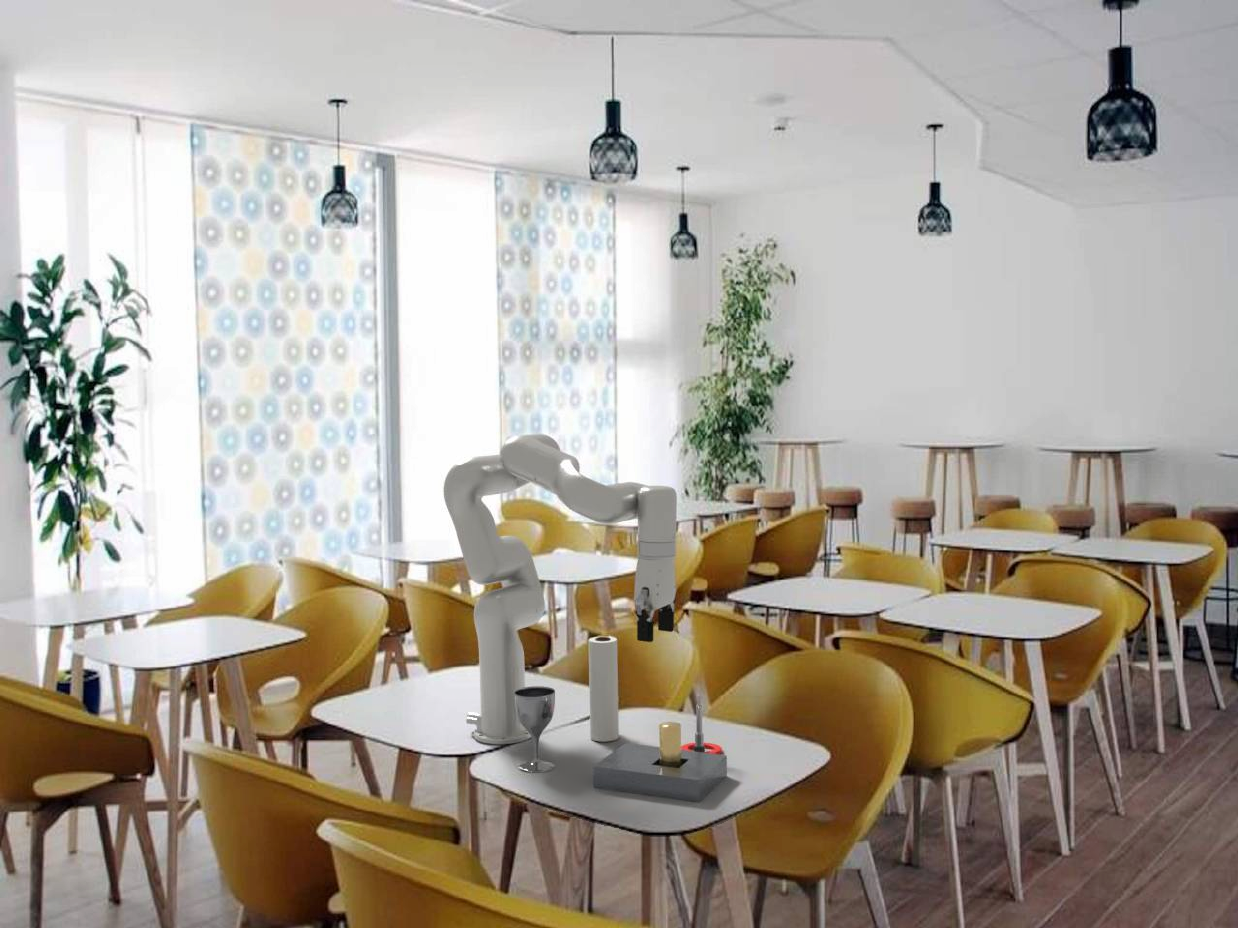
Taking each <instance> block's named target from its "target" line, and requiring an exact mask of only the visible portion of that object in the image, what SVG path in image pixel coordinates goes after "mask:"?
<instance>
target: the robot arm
mask: <svg viewBox="0 0 1238 928" xmlns="http://www.w3.org/2000/svg"><path fill="white" fill-rule="evenodd" d="M580 470H581V467H580V463H579V460H578V459H577V458H576V457H575V456H574V455H571V454H569V453H566V452H563V451H561V448H560V446H559V444H558V442H557V441H556V440H555V439H554V438H552V436H550V435H547V434H543V433H534V434H522V435H521V434H520V435H516V436H513V437H511V438H509V439H507V440H506V441H505V442H504V443H503V444H502V447H501V449H500V451H499V454H493V455H490V454H489V455H480V456H473V457H472V456H471V457H468V458H464V459H462V460H460V461H457V462H456V463H455V464H454V465H453V466H452V467H451V468H450V469H449V470H448V472H447V474H446V476H445V478H444V483H443V491H442V492H443V499H444V503H445V506H446V509H447V511H448V513H449V516H450V518H451V521H452V524H453V526H454V529H455V533H456V536H457V540H458V543H459V547H460V550H461V554H462V557H463V560H464V565H465V568H466V570H467V574H468V575H469V577H470V579H471V581H472V582H473V583H475V584H477V585H483V586H486V585H493V584H495V583H496V584H497V583H500V584H501V586H502V587H499V588H497V589H493V590H490V591H488V592H486V593H484V594H483V595H481V596H480V597H479V599H477V600H476V602H475V604H474V609H473V622H474V627H475V631H476V636H477V643H478V644H477V645H478V661H479V663H478V664H479V690H480V691H479V693H480V713H477V712H470V711H469V712H468V713H467V715H466V724H469V725H475V726H476V729H475V730H474V732H473V737H474V739H475V740H476V741H478V742H480V743H484V744H489V745H490V744H491V745H507V744H509V745H510V744H516V743H521V742H524V741H527V740H529V739H532V737H531V735H530V733H529V732H528V731H527V730H526V729H525V728H524V726H523V725H522V724H521V723H520V722H519V720H518V717H517V713H516V708H515V695H514V693H515V691H516V690H517V689H520V688H524V687H526V681H525V680H526V679H525V678H526V677H525V673H526V672H525V653H524V646H523V643H522V641H521V638H520V636H519V633H518V631H519V630H521V629H524V628H528V627H531V626H533V625H535V624H537V623H538V622H539V621H540V620H541V619H542V617H543V615H544V614H545V608H546V604H545V596H544V591H543V589H542V586H541V582H540V579H539V575H538V572H537V569H536V568H537V567H536V565H535V563H534V559H533V556H532V553H531V551H530V549H529V547H528V546H527V545H526V543H525V542H524V541H523V540H521V539H520V538H518V537H516V536H514V535H502V536H500V534H499V532H498V531H499V530H498V529H497V525H496V522H495V521H496V520H495V519H494V518H495V517H494V516H493V514H492V513H491V511H490V509H489V508H488V506H487V505H486V503H484V502H483V500H482V499H483V497H485V496H492V495H493V496H494V495H500V494H506V493H510V492H513V491H515V490H518V489H520V488H521V487H523V486H526V485H528V484H530V483H531V484H532V485H535V486H537V487H539V488H542V489H543V490H545V491H547V492H550V493H552V494H554V495H555V496H557V498H558V499H559V500H560V501H561V503H562V504H563V505H564V506H565V507H566V508H568V509H569V510H571V511H572V512H574V513H577V514H578V515H580V516H582V517H585V518H587V519H589V520H591V521H594V522H596V523H600V524H603V525H612V524H617V523H621V522H626V521H628V522H629V521H631V520H637V562H636V568H635V577H634V592H633V606H634V607H635V611H634V612H635V615H636V617H635V618H636V621H637V622H636V626H637V627H636V633H637V634H636V639H637V641H639V642H647V643H652V642H654V628H655V627H654V621H653V620H652V619H653V617H654V614H655V611H657V610H658V612H657V613H658V615H657V618H658V619H657V623H658V624H657V630H658V631H662V632H669V633H670V632H671V633H673V631H674V630H675V629H674V627H675V609H676V606H675V602H676V596H677V595H676V594H677V585H676V569H675V568H676V567H675V566H676V565H675V559H676V558H677V518H678V517H677V512H678V511H677V505H678V504H677V501H678V500H677V499H678V497H677V495H678V494H677V491H676V489H675V488H673V487H672V486H667V485H648V484H642V483H639V482H635V481H634V482H632V481H629V482H628V481H627V482H620V483H619V482H617V483H613V484H612V483H611V484H607V485H606V484H603V483H601V482H598V481H595V480H593V479H591V478H589V477H587V476H585V475H584V474H581V471H580Z"/></svg>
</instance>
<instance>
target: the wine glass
mask: <svg viewBox="0 0 1238 928" xmlns="http://www.w3.org/2000/svg"><path fill="white" fill-rule="evenodd" d="M514 695H515V708H516V713H517V717H518V720H519V722H520V723H521V724H522V725H523V726H524V728H525V729H526V730H527V731H528V732H529V733H530V735H531V741H532V745H533V755H534V757H533V760H529V761H528V760H527V761H525V763H524V762H522V763H520V764H519V765H518V767H522V768H523V769H524V770H527V771H529V772H528V773H530V772H531V771H532V772H538V773H544V772H549V771H551V770H553V769H554V768H555V764H554V763H553V762H551V761H547V760H540V759H539V743H540V738H541V735H542V733H543V732H544V730H545V729H546V728H547V727H548V726H549V724H550V723H551V721H552V720H553V717H554V714H555V707H556V690H555V689H554V688H552V687H549V686H541V685H540V686H539V685H537V686H536V685H535V686H534V685H533V686H525V687H524V688H520V689H517V690H516V691H515V693H514ZM518 767H517V768H518Z"/></svg>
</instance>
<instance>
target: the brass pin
mask: <svg viewBox="0 0 1238 928" xmlns="http://www.w3.org/2000/svg"><path fill="white" fill-rule="evenodd" d="M681 725H682V724H681V723H679V722H676V721H667V722H662V723H659V725H658V731H659V733H658V734H659V747H660V766H665V767H673V768H680V767H681V746H682V730H681V729H682V728H681V727H682V726H681Z"/></svg>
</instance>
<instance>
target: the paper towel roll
mask: <svg viewBox="0 0 1238 928" xmlns="http://www.w3.org/2000/svg"><path fill="white" fill-rule="evenodd" d="M618 665H619V664H618V639H617V637H616V636H613V635H610V634H608V636H594V637H590V638H588V672H589V673H588V674H589V675H588V678H589V679H588V681H589V687H588V688H589V726H590V727H589V731H590V732H589V734H590V735H589V737H590V740H592V741H596V742H600V743H601V742H603V743H605V742H613V741H616V740H618V739H619V736H620V735H619V733H620V732H619V731H620V730H619V729H620V728H619V721H620V720H619V677H618V676H619V673H618V672H619V670H618V667H619V666H618Z"/></svg>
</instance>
